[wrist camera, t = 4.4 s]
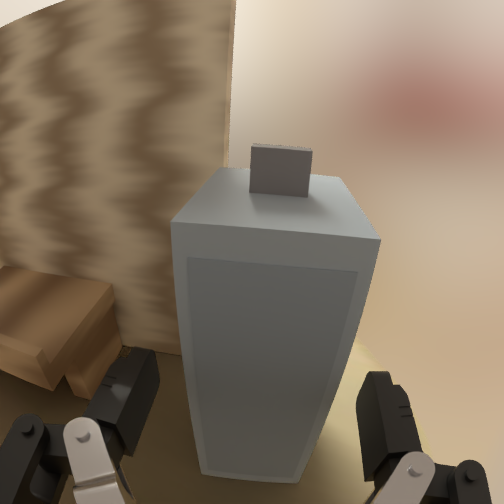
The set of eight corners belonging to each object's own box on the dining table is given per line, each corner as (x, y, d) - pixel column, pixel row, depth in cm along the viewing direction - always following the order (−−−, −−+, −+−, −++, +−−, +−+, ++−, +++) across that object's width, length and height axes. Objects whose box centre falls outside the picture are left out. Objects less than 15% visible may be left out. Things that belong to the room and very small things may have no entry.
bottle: (201, 474, 15) (167, 161, 8) (220, 388, 21) (220, 133, 14) (297, 484, 15) (393, 180, 7) (298, 395, 21) (343, 143, 13)
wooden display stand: (-42, 374, 17) (-115, 54, 5) (18, 307, 26) (-18, 44, 15) (197, 466, 15) (189, -122, 4) (225, 347, 25) (237, -21, 13)
